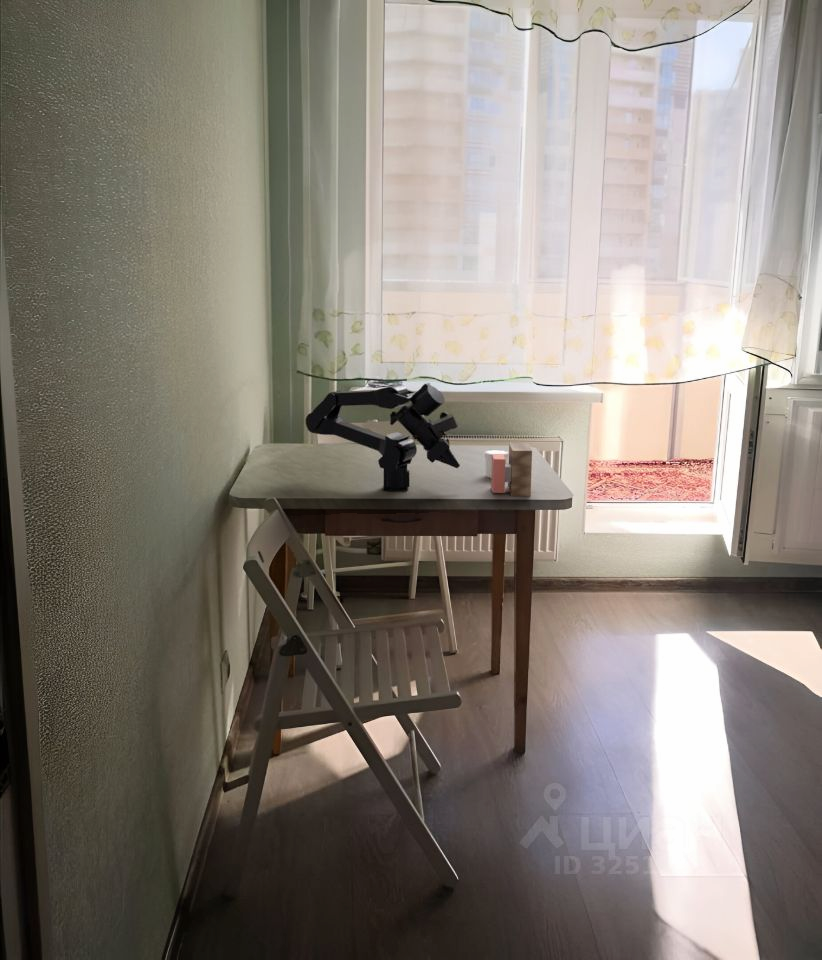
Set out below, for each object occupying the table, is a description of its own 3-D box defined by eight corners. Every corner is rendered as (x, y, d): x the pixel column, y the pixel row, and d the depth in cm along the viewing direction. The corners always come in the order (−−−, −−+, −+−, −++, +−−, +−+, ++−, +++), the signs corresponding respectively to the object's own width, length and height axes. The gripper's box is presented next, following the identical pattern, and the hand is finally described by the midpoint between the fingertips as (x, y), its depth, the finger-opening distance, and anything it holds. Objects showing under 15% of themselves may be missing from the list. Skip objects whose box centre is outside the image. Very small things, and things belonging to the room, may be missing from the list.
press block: (511, 495, 239) (512, 450, 237) (507, 486, 249) (509, 442, 246) (530, 496, 239) (532, 450, 237) (526, 486, 249) (527, 443, 246)
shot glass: (482, 473, 264) (482, 449, 262) (506, 473, 264) (506, 449, 263) (485, 479, 257) (486, 454, 256) (510, 478, 258) (510, 454, 256)
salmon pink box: (493, 492, 241) (493, 459, 239) (491, 486, 248) (492, 453, 246) (527, 493, 241) (528, 459, 239) (524, 486, 248) (525, 453, 245)
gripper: (441, 410, 230) (483, 453, 233) (438, 398, 248) (478, 438, 251) (409, 440, 232) (452, 483, 235) (408, 426, 250) (448, 466, 253)
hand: (458, 466), depth 243 cm, fingers closed
